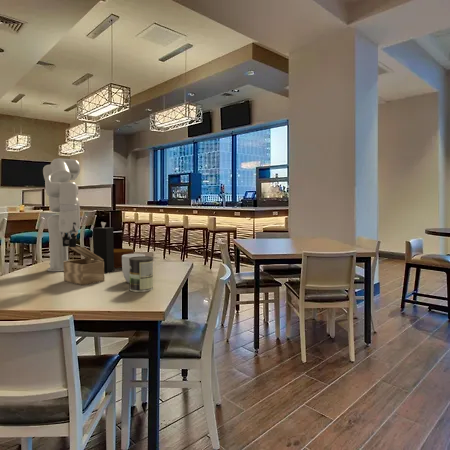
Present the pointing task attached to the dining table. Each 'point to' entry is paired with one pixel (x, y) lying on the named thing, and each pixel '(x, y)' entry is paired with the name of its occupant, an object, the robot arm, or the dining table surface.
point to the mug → (127, 265)
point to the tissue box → (104, 246)
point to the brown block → (120, 256)
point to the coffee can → (141, 273)
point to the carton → (83, 271)
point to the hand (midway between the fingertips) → (69, 246)
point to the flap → (84, 252)
